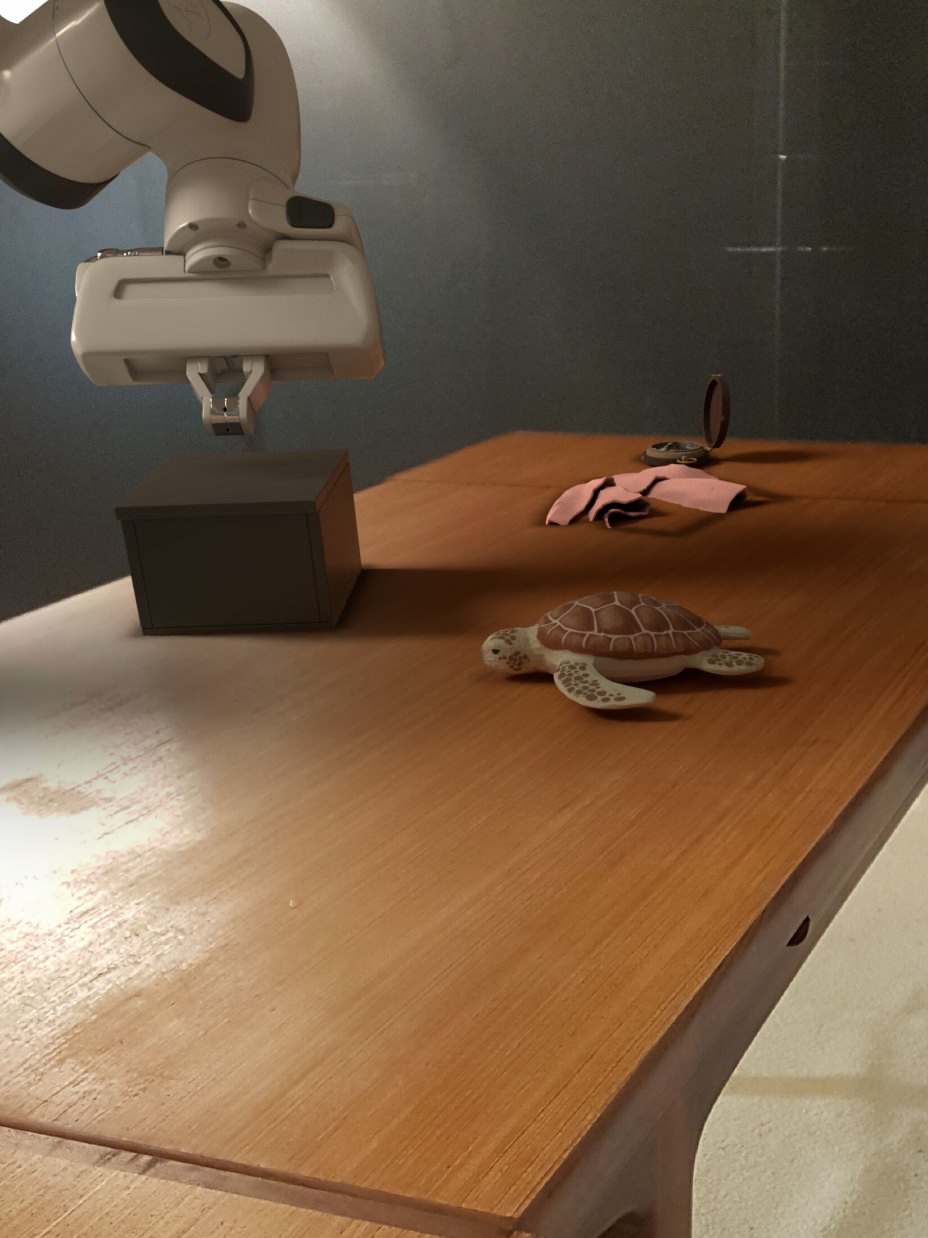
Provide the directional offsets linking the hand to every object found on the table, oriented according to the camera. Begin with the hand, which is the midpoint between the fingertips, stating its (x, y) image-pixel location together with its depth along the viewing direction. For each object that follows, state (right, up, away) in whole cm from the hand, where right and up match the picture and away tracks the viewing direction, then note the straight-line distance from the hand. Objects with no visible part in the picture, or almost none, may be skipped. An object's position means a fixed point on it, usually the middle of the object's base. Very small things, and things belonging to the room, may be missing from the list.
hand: (228, 430), depth 106 cm
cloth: (+28, +6, +29) cm, 41 cm away
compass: (+31, +16, +45) cm, 57 cm away
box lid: (0, -3, +3) cm, 4 cm away
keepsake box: (0, -9, +7) cm, 12 cm away
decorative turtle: (+26, -19, -8) cm, 33 cm away
